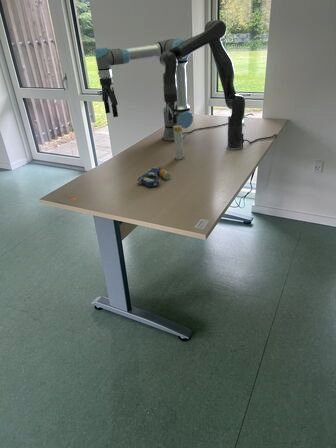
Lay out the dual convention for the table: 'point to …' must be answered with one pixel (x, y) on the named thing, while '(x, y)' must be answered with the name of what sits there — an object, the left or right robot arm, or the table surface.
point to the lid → (177, 128)
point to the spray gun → (153, 174)
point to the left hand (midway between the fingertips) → (111, 114)
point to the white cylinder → (178, 144)
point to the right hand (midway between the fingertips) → (172, 121)
